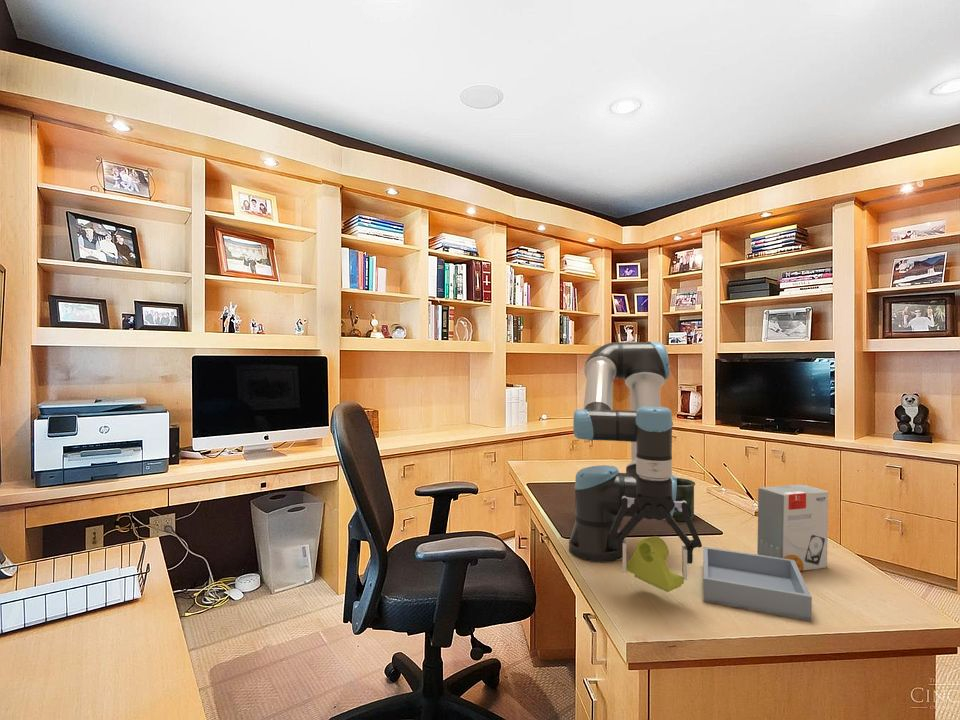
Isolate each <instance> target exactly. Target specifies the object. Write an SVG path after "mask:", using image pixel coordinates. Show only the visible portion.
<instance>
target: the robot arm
mask: <svg viewBox="0 0 960 720" xmlns="http://www.w3.org/2000/svg"><path fill="white" fill-rule="evenodd" d="M583 369H584V371H583V372H584V376H585V378H586V383H585V391H584V400H583V408H582V409H581V408H580V409H575V410H574V412H573V423H572V424H573V426H572V427H573V436H574V438H576V439H579V440H587V441H591V442H592V441H606V442H607V441H608V442H609V441H610V442H611V441H612V442H614V441H615V442H627V443H629V442H630V443H631V445H630V446H631V447H630V450H631V453H630V455H631V462H630V463H628V464H627V465H626V467H625V472H619V469H618V467H616V466H614V465H602V464H601V465H594V466H588V467H583V468H582V469H579V470H578V471H577V472H576V473H575V481H574V483H575V484H574V489H575V495H574V496H575V497H574V498H575V501H574V502H575V505H574V508H575V509H574V511H575V512H574V513H575V515H574V516H575V517H574V519H575V520H574V524H573V528H572V532H571V534H570V537H569V539H568V540H569V541H568V551H569V552H570V554H571V555H573V556H574V557H576V558H578V559H581V560H584V561H590V562H596V563H610V562H616V561H619V560H622V573H627V571H626V565H627V539H626V538H627V537H628V536H629V534H630V533H631V532H632V531H633V530H634V529H635V527H636V526H637V525H638V524H639V522H641V521H642V520H643V519H646V520H653V521H656V520H657V521H663V520H664V521H665V520H666V522H667V523H668V525H669V526H670V527H671V528H672V530H673V531H674V533H675V534H676V535H677V537H678V538H679V539H680V541H681V542H682V543H683V544H682V545H681V575H682V577H683V578H684V581H685V580H686V581H688V564H689V565H690V564H691V565H692V564H693V561H694V559H693V557H694V554H693V551H694V549H696V548H698V549H699V548H702V547H703V543H702V542H701V539H700V536H699V534H698V532H697V530H696V527H695V526H694V523H693V520H691V518H690V516H689V514H688V505H687V502H686V501H685V500H681V501H676V491H677V478H678V477H677V476H675V475H673V453H672V452H673V451H672V448H673V444H672V443H673V425H674V424H673V423H674V421H673V418H672V417H673V413H672V410H671V409H670V408H668V407H665V406H662V404H661V403H662V401H661V388H662V387H663V386H664V385H665V383H666V380H668V379H669V378H670V376H671V375H670V373H671V372H670V371H671V368H670V359H669V355H668V350H667V348H666V346H665V344H664V343H663V342H658V341H646V342H645V341H637V342H636V341H635V342H634V341H633V342H632V341H631V342H629V341H628V342H627V341H626V342H625V341H623V342H619V341H617V342H616V341H615V342H609V343H605V344H603V345H602V346H599V347H598V348H596V349H595V350H594V351H593V352H592V353H590V355H589V356H588V357H587V359H586V361H585V363H584V368H583ZM615 379H618V380H624V384H625V386H626V387H628V388H629V391H630V392H629V394H630V397H629V398H630V410H618V409H617V410H614V409H613V407H614V406H613V404H614V401H613V400H614V398H613V397H614V388H613V387H614V384H613V383H614V380H615ZM675 507H677V509H678V511H679V512H682V514H683V517H684V519H685V521H684V522H685V523H686V526H687V528H688V531H689V533H690V535H691V537H692V539H690V538H689V537H688V536H687V534H686V533H685V531H683V529H682V527H681V526H680V525H679V524H678V522H677V520H674V518H673V517H672V516H673V513H674V508H675ZM624 517H625V518H630V519H629V520H628V522H627V523H626V524H625V525H624V527H622V529H621V530H620V526H621V524H622V522H623V520H624Z"/></svg>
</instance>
